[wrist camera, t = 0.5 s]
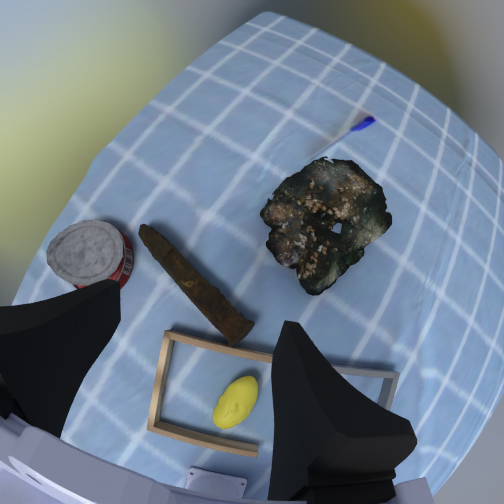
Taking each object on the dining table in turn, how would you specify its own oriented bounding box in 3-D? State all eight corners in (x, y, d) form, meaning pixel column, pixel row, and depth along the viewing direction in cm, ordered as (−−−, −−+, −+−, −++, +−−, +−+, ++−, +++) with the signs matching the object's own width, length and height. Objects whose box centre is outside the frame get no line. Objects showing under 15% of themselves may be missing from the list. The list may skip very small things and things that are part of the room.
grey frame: (364, 456, 30) (371, 463, 27) (275, 452, 30) (277, 460, 28) (391, 370, 33) (399, 372, 30) (300, 358, 33) (304, 362, 31)
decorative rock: (341, 313, 31) (233, 237, 31) (326, 309, 37) (234, 245, 38) (409, 189, 33) (319, 122, 34) (388, 201, 39) (309, 143, 40)
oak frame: (256, 449, 30) (257, 457, 28) (152, 423, 31) (146, 429, 28) (280, 355, 33) (282, 358, 31) (170, 329, 34) (164, 330, 31)
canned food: (93, 253, 40) (60, 209, 33) (146, 242, 40) (116, 191, 32) (76, 316, 33) (31, 274, 26) (134, 310, 33) (90, 261, 25)
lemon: (205, 412, 31) (200, 422, 28) (241, 365, 33) (241, 371, 29) (232, 429, 31) (230, 441, 27) (269, 384, 32) (271, 392, 29)
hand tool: (256, 325, 34) (257, 326, 30) (232, 346, 34) (230, 351, 29) (162, 217, 37) (152, 204, 33) (140, 236, 37) (127, 225, 32)
